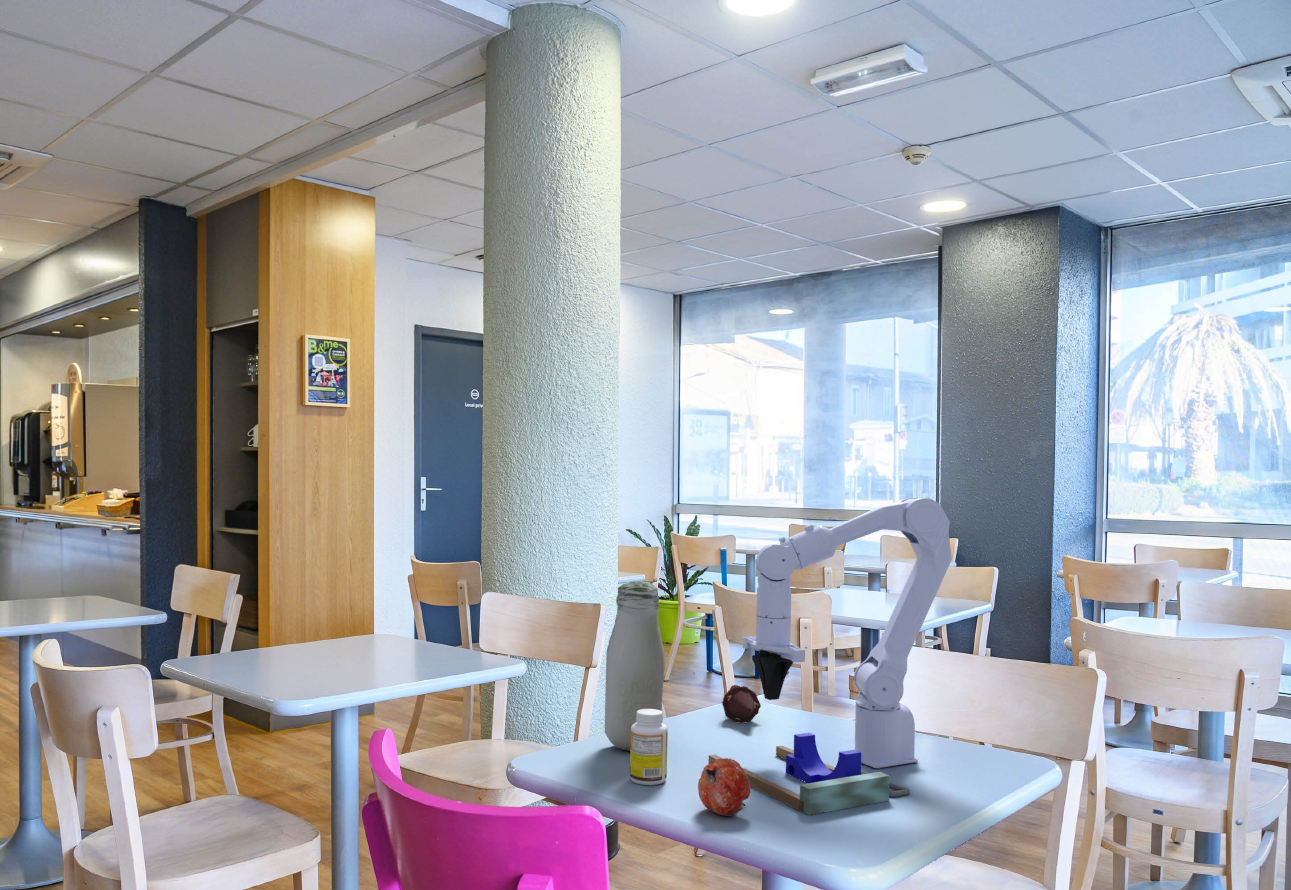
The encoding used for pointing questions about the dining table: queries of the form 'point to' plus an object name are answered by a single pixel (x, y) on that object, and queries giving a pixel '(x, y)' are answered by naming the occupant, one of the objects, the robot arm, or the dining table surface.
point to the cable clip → (819, 762)
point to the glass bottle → (633, 661)
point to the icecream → (741, 704)
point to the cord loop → (896, 793)
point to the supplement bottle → (648, 748)
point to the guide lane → (824, 789)
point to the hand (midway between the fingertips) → (771, 698)
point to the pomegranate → (724, 787)
